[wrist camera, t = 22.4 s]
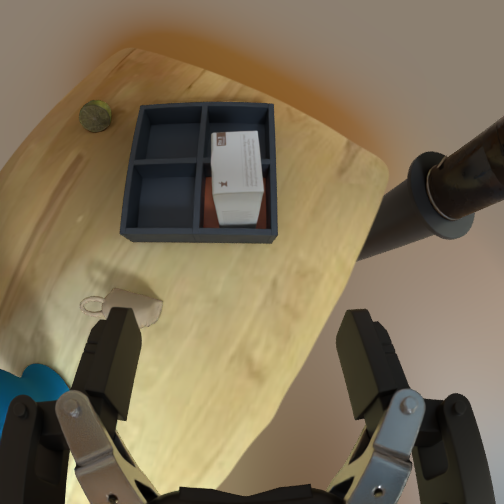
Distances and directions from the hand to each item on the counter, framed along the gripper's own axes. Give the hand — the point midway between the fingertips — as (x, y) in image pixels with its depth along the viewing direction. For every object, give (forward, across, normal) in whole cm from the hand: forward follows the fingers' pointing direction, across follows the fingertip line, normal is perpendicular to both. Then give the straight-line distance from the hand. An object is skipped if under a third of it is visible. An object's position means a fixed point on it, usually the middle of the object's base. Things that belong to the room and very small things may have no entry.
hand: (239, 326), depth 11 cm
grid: (+28, +4, +5) cm, 29 cm away
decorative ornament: (+17, +13, +17) cm, 27 cm away
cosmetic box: (+25, 0, +8) cm, 26 cm away
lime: (+35, +21, -1) cm, 41 cm away
